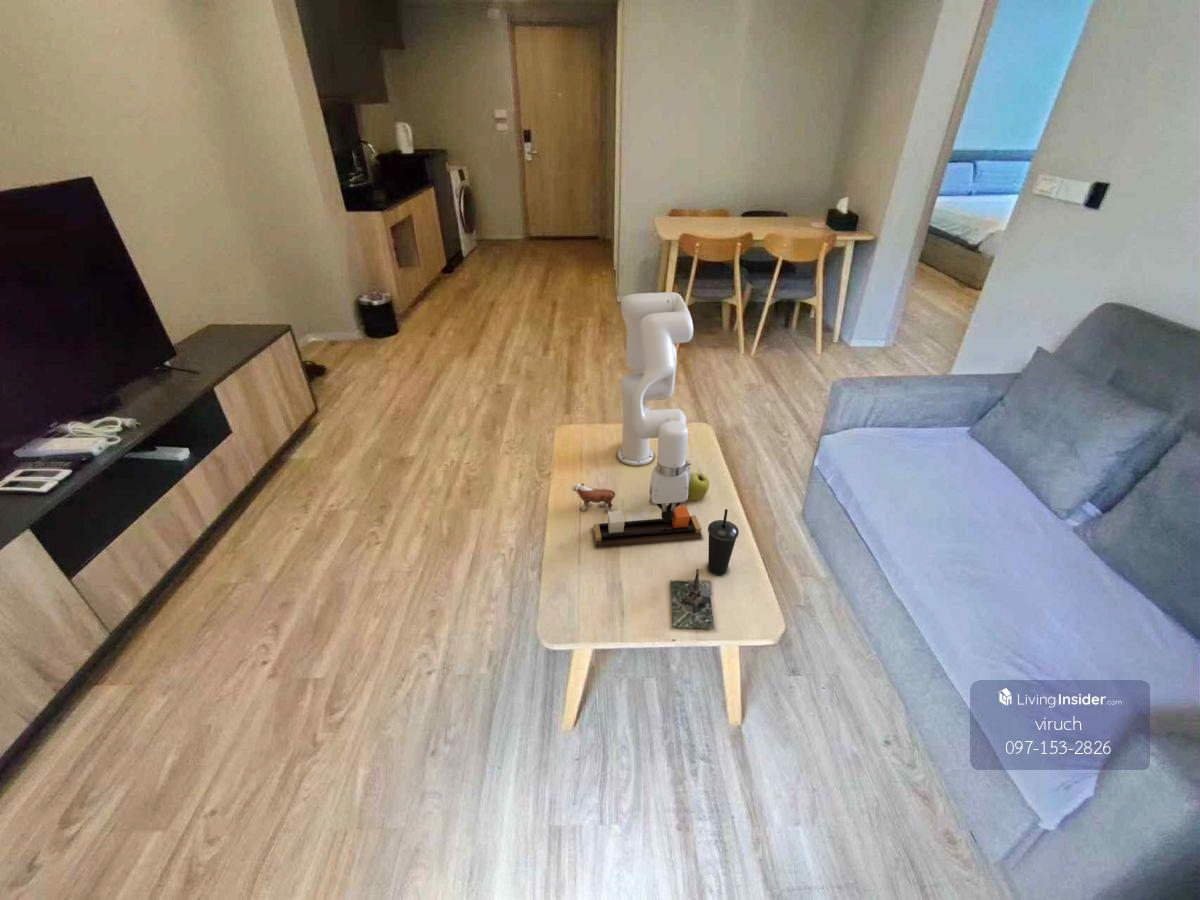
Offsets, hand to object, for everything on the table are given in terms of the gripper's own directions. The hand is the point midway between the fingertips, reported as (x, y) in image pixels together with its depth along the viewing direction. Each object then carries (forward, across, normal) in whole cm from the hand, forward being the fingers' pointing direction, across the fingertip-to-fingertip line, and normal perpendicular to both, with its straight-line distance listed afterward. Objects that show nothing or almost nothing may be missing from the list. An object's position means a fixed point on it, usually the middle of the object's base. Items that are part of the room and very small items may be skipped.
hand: (666, 519), depth 152 cm
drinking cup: (+5, -10, +16) cm, 20 cm away
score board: (+5, +6, 0) cm, 8 cm away
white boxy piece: (+3, +15, 0) cm, 15 cm away
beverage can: (+5, -8, -14) cm, 17 cm away
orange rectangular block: (+3, -4, 0) cm, 5 cm away
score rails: (+3, +6, 0) cm, 7 cm away
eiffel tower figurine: (+5, -1, +27) cm, 27 cm away
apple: (+5, -13, -16) cm, 21 cm away
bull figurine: (+5, +20, -14) cm, 25 cm away
